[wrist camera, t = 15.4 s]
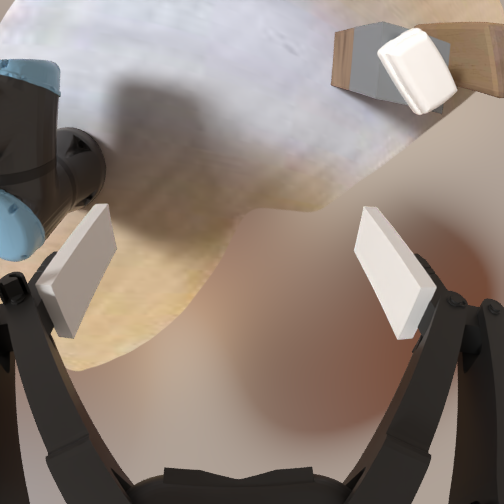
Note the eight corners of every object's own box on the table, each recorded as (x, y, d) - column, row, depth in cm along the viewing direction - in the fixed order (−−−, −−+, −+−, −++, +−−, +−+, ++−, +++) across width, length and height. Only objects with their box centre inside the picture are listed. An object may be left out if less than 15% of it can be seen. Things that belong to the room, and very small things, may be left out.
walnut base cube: (330, 85, 44) (349, 90, 37) (334, 32, 40) (354, 27, 32) (382, 93, 45) (407, 101, 37) (387, 43, 40) (413, 42, 33)
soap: (453, 90, 28) (467, 94, 26) (414, 118, 30) (427, 123, 28) (415, 24, 24) (429, 22, 22) (372, 51, 27) (383, 51, 24)
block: (464, 75, 42) (541, 97, 25) (422, 79, 43) (499, 100, 26) (454, 24, 36) (533, 28, 20) (410, 25, 38) (487, 22, 21)
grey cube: (348, 90, 37) (375, 98, 29) (354, 27, 32) (382, 21, 24) (407, 101, 37) (441, 113, 30) (413, 42, 33) (450, 43, 25)
